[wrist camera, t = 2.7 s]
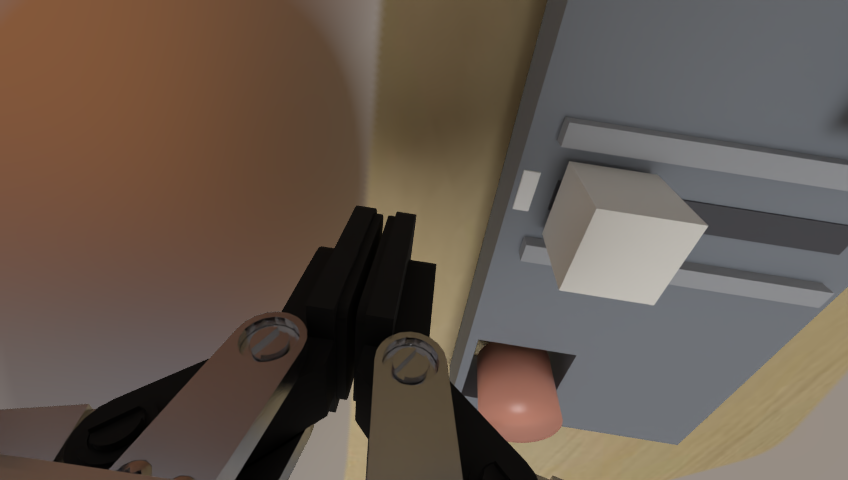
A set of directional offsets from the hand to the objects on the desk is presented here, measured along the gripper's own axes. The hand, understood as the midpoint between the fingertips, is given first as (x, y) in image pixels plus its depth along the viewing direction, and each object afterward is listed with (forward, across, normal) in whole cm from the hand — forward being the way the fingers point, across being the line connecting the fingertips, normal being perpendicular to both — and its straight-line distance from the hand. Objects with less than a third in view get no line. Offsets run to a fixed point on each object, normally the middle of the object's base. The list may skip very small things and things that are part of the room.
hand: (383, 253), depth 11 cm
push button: (+5, -7, +10) cm, 14 cm away
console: (+7, -11, +2) cm, 13 cm away
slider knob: (+4, -7, -1) cm, 8 cm away
